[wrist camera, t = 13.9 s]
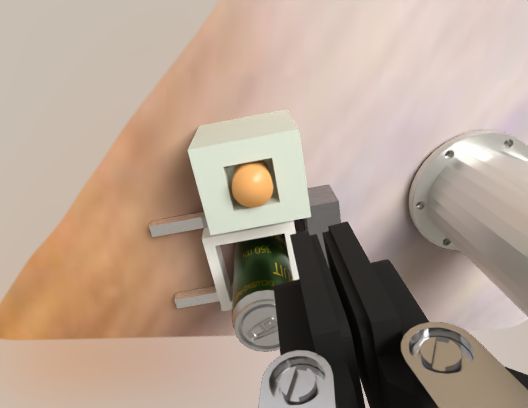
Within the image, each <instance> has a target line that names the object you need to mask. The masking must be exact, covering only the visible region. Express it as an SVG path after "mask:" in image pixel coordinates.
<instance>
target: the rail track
mask: <svg viewBox="0 0 528 408" xmlns="http://www.w3.org/2000/svg"><path fill="white" fill-rule="evenodd" d="M307 190H308V197H309V204H310V211H311V217H309V218H303V221H304V227H305V231H308V232H309V235H314V234H317V236H318V239H319V242H320V245H321V247H322V250H323V253H324V256H325V259H326V261H327V264H328V260H327V255H326V250H325V245H324V240H323V235H322V232H327V231H329V229H328V226H330V225H335V224H339V223H341V220H340V210H339V201H338V199H337V197H336V196H335V194H334V192H333V191H332V189H331V187H330V185H324V186H319V187H313V188H308V189H307ZM202 216H205V213H204V212H199V213H193V214H188V215H182V216H177V217H172V218H166V219H161V220H155V221H151V223H150V225H149V229H150V232H151V235H152V237H157V236H163V235H168V234H174V233H179V232H184V231H190V230H195V229H201V228H204V227H203V223H202V219H201V217H202ZM328 267H329V265H328ZM230 285H231V286H233V283H230ZM174 301H175V303H176V306H177V309H178V308H184V307H190V306H195V305H201V304H206V303H212V302H218V301H219V298H218V294H217V291H216V287H215V286H212V287H206V288H201V289H195V290H190V291H184V292H178V293H176V295H175V299H174Z"/></svg>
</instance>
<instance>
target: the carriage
mask: <svg viewBox="0 0 528 408" xmlns="http://www.w3.org/2000/svg"><path fill="white" fill-rule="evenodd" d="M201 219H202V223H203V227H204V230H203V235H202V242H203V245H204V249H205V252H206V256H207V259H208V263H209V266H210V270H211V273H212V277H213V280H214V284H215V287H216V291H217V294H218V298H219V301H220V305H221V308H222V311H227V310H232V299H233V286H231V285H230V281H229V278H228V274H227V270H226V266H225V263H224V259H223V255H222V251H221V247H220V245H224V244H229V243H235V242H240V241H246V240H251V239H257V238H262V237H267V236H273V235H278V234H284V235H285V240H286V246H287V251H288V256H289V261H290V266H291V270H292V275H293V280H298V279H299V275H298V270H297V266H296V261H295V256H294V252H293V247H292V243H291V238H290V235H292V234H296V231H295V225H294V220H292V221H287V222H281V223H276V224H270V225H265V226H259V227H254V228H248V229H243V230H238V231H232V232H227V233H221V234H216V235H210V231H209V228H208V224H207V220H206V217H205V216H202V217H201Z"/></svg>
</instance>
